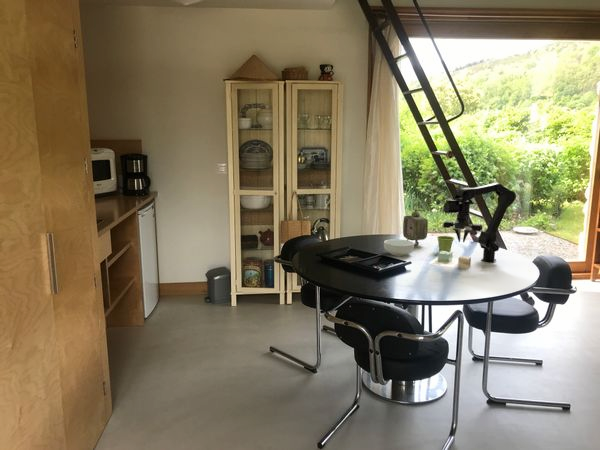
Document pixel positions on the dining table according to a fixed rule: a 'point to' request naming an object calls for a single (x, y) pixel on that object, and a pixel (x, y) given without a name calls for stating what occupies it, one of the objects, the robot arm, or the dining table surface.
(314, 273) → the dining table surface
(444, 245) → the plant pot
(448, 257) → the translucent green block
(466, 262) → the cube
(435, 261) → the letter
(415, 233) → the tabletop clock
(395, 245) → the cereal bowl
